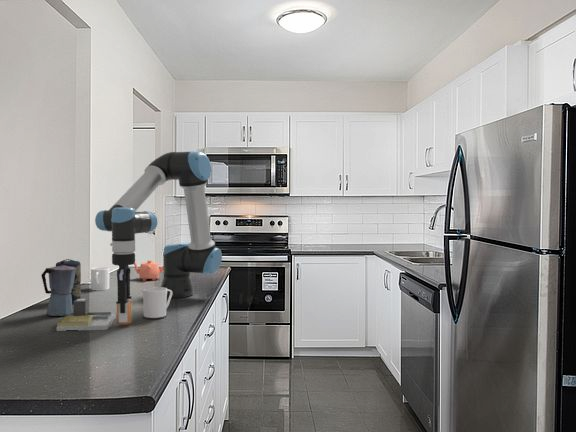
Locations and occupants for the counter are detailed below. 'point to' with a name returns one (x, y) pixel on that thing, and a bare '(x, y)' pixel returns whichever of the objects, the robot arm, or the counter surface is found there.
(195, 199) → the robot arm
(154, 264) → the teapot
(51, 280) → the moka pot
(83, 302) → the breaker slider
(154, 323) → the counter surface
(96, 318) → the panel
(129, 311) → the cap
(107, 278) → the mug
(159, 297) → the mug
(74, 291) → the canister
